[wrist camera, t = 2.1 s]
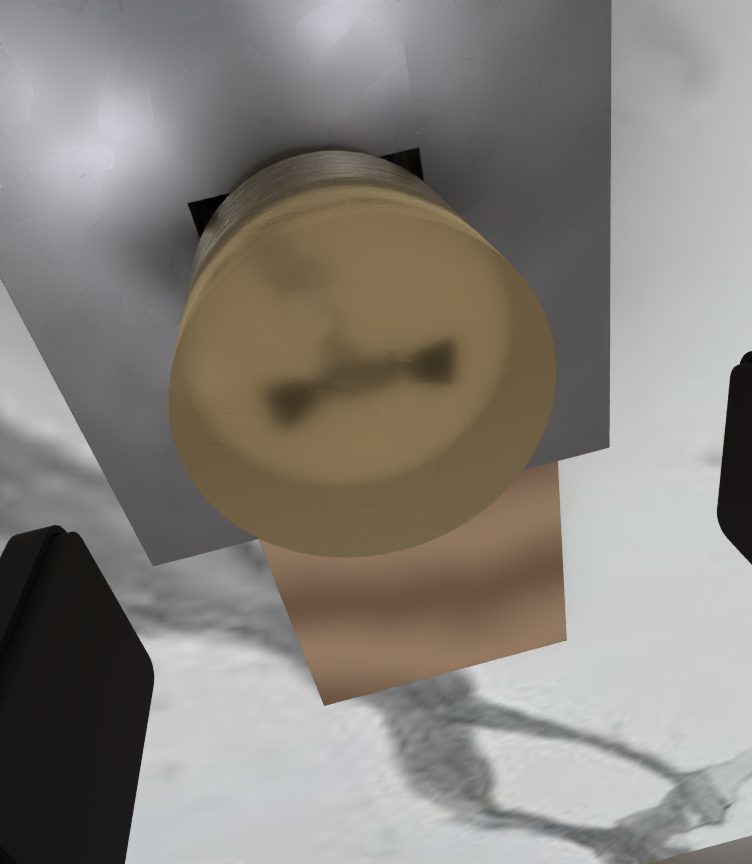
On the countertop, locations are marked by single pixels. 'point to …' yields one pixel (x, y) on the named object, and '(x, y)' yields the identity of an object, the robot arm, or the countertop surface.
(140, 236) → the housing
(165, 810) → the countertop surface
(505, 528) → the board
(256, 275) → the end cover
